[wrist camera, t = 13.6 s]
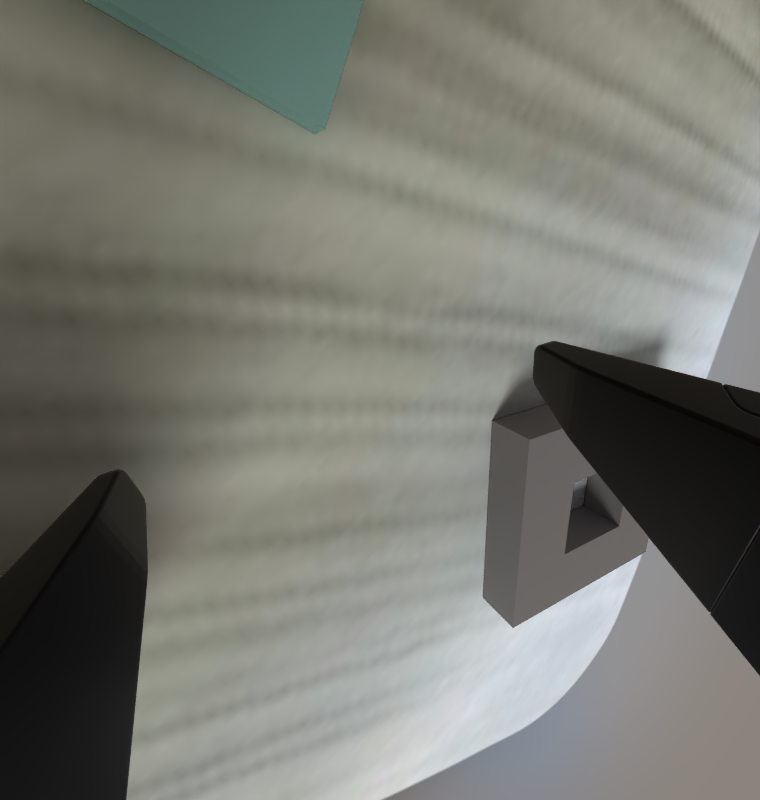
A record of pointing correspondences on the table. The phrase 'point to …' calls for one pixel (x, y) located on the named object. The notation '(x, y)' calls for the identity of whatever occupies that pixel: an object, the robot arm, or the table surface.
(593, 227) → the table surface
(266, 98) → the mat
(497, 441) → the grey square socket base
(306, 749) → the table surface
